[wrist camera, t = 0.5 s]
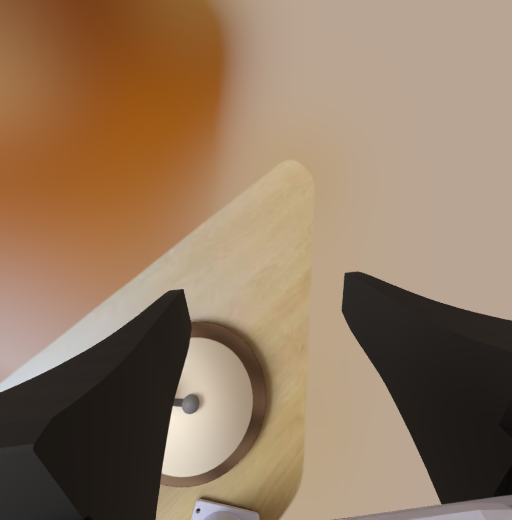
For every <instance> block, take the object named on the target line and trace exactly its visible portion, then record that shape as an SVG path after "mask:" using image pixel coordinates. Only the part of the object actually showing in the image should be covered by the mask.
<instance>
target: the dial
mask: <svg viewBox="0 0 512 520" xmlns="http://www.w3.org/2000/svg"><path fill="white" fill-rule="evenodd" d="M252 407H253V395H252V387H251V382H250V379H249V376H248V373H247V371H246V369H245V367H244V365H243V364H242V362H241V361H240V359H239V358H238V357H237V355H236V354H235V353H234V352H233V351H232V350H230V349H229V348H228V347H227V346H225V345H223V344H222V343H220V342H217V341H215V340H212V339H208V338H202V337H193V338H190V344H189V349H188V353H187V357H186V360H185V364H184V367H183V371H182V374H181V378H180V381H179V385H178V388H177V392H176V395H175V399H174V404H173V408H172V413H171V419H170V424H169V430H168V436H167V442H166V448H165V454H164V460H163V467H162V474H165V475H169V476H175V477H190V476H195V475H199V474H202V473H205V472H208V471H210V470H212V469H213V468H215V467H217V466H218V465H220V464H221V463H223V462H224V461H225V460H226V459H227V458H228V457H229V456H230V455H231V454H232V453H233V452H234V451H235V450H236V448H237V447H238V445H239V444H240V442H241V441H242V439H243V437H244V435H245V433H246V431H247V428H248V426H249V422H250V419H251V414H252Z"/></svg>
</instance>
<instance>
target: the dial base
mask: <svg viewBox="0 0 512 520" xmlns="http://www.w3.org/2000/svg"><path fill="white" fill-rule="evenodd" d="M191 325H192V330H191V338H193V337H202V338H208V339H212V340H215V341H217V342H220V343H222V344H223V345H225V346H227V347H228V348H229V349H230V350H232V351H233V352H234V353H235V354H236V355H237V357H238V358H239V359H240V361H241V362H242V364H243V365H244V367H245V369H246V371H247V373H248V376H249V379H250V382H251V387H252V395H253V407H252V414H251V419H250V422H249V426H248V428H247V431H246V433H245V435H244V437H243V439H242V441H241V442H240V444H239V445H238V447H237V448H236V450H235V451H234V452H233V453H232V454H231V455H230V456H229V457H228V458H227V459H226V460H225V461H224V462H223V463H221V464H220V465H218V466H217V467H215V468H213V469H212V470H210V471H208V472H205V473H202V474H199V475H195V476H190V477H175V476H169V475H165V474H161V481H160V484H163V485H166V486H172V487H192V486H198V485H201V484H205V483H208V482H210V481H212V480H215V479H217V478H219V477H220V476H222V475H223V474H225V473H227V472H228V471H229V470H231V469H232V468H233V467H234V466H235V465H236V464H237V463H238V462H239V461H240V460H241V459H242V458H243V457H244V456H245V454H246V453H247V452H248V450H249V449H250V448H251V446H252V444H253V442H254V441H255V439H256V437H257V435H258V432H259V430H260V428H261V424H262V421H263V417H264V412H265V405H266V388H265V381H264V376H263V373H262V369H261V366H260V364H259V362H258V360H257V358H256V356H255V354H254V353H253V351H252V350H251V348H250V347H249V346H248V345H247V344H246V342H244V341H243V340H242V339H241V338H240V337H239V336H238V335H236V334H235V333H233V332H232V331H230V330H228V329H226V328H225V327H222V326H219V325H216V324H212V323H207V322H191Z"/></svg>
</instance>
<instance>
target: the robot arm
mask: <svg viewBox="0 0 512 520" xmlns="http://www.w3.org/2000/svg"><path fill="white" fill-rule="evenodd" d="M342 302H343V303H342V313H343V315H344V317H345V319H346V321H347V324H348V326H349V328H350V330H351V331H352V333H353V334H354V336H355V338H356V339H357V341H358V342H359V344H360V345H361V347H362V348H363V350H364V351H365V353H366V354H367V356H368V358H369V359H370V361H371V362H372V363H373V365H374V367H375V368H376V370H377V371H378V373H379V374H380V376H381V378H382V379H383V381H384V383H385V385H386V386H387V388H388V390H389V392H390V394H391V396H392V398H393V400H394V402H395V403H396V406H397V408H398V410H399V412H400V414H401V416H402V418H403V420H404V422H405V424H406V426H407V428H408V430H409V432H410V434H411V436H412V438H413V441H414V443H415V445H416V447H417V449H418V451H419V454H420V456H421V458H422V460H423V462H424V464H425V467H426V469H427V471H428V474H429V476H430V478H431V481H432V483H433V485H434V488H435V490H436V492H437V495H438V497H439V499H440V502H441V504H442V505H435V506H428V507H421V508H414V509H407V510H399V511H393V512H385V513H378V514H371V515H364V516H356V517H349V518H342V519H335V520H512V321H511V320H505V319H501V318H497V317H492V316H488V315H484V314H479V313H475V312H471V311H468V310H464V309H460V308H456V307H453V306H450V305H447V304H443V303H440V302H437V301H434V300H431V299H428V298H425V297H423V296H420V295H417V294H414V293H412V292H409V291H406V290H404V289H401V288H399V287H397V286H394V285H392V284H389V283H387V282H385V281H382V280H380V279H377V278H375V277H372V276H370V275H367V274H365V273H361V272H349V273H345V276H344V289H343V301H342ZM191 330H192V325H191V321H190V316H189V312H188V307H187V303H186V298H185V294H184V289H180V290H170V291H168V292H167V293H165V294H164V295H163V296H161V297H160V298H159V299H158V300H156V301H155V302H154V303H153V304H151V305H150V306H149V307H148V308H146V309H145V310H144V311H143V312H141V313H140V314H139V315H138V316H136V317H135V318H134V319H132V320H131V321H130V322H128V323H127V324H126V325H124V326H123V327H122V328H120V329H119V330H117V331H116V332H115V333H113V334H112V335H110V336H109V337H107V338H106V339H104V340H102V341H101V342H99V343H98V344H96V345H94V346H93V347H91V348H89V349H88V350H86V351H84V352H82V353H81V354H79V355H77V356H75V357H73V358H71V359H70V360H68V361H66V362H64V363H62V364H60V365H59V366H57V367H55V368H53V369H51V370H49V371H47V372H45V373H42V374H40V375H38V376H36V377H34V378H32V379H30V380H28V381H25V382H23V383H21V384H19V385H17V386H14V387H12V388H10V389H8V390H5V391H3V392H1V393H0V520H155V519H156V511H157V503H158V495H159V488H160V481H161V474H162V467H163V460H164V454H165V448H166V442H167V436H168V430H169V424H170V419H171V413H172V408H173V404H174V399H175V395H176V392H177V388H178V385H179V381H180V378H181V374H182V371H183V367H184V364H185V360H186V357H187V353H188V349H189V344H190V338H191ZM197 508H199V509H200V511H197V510H196V509H197ZM191 520H259V514H258V513H257V512H255V511H250V510H246V509H242V508H238V507H234V506H229V505H225V504H221V503H217V502H212V501H208V500H204V499H198V500H197V501H196V504H195V507H194V511H193V515H192V518H191Z"/></svg>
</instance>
